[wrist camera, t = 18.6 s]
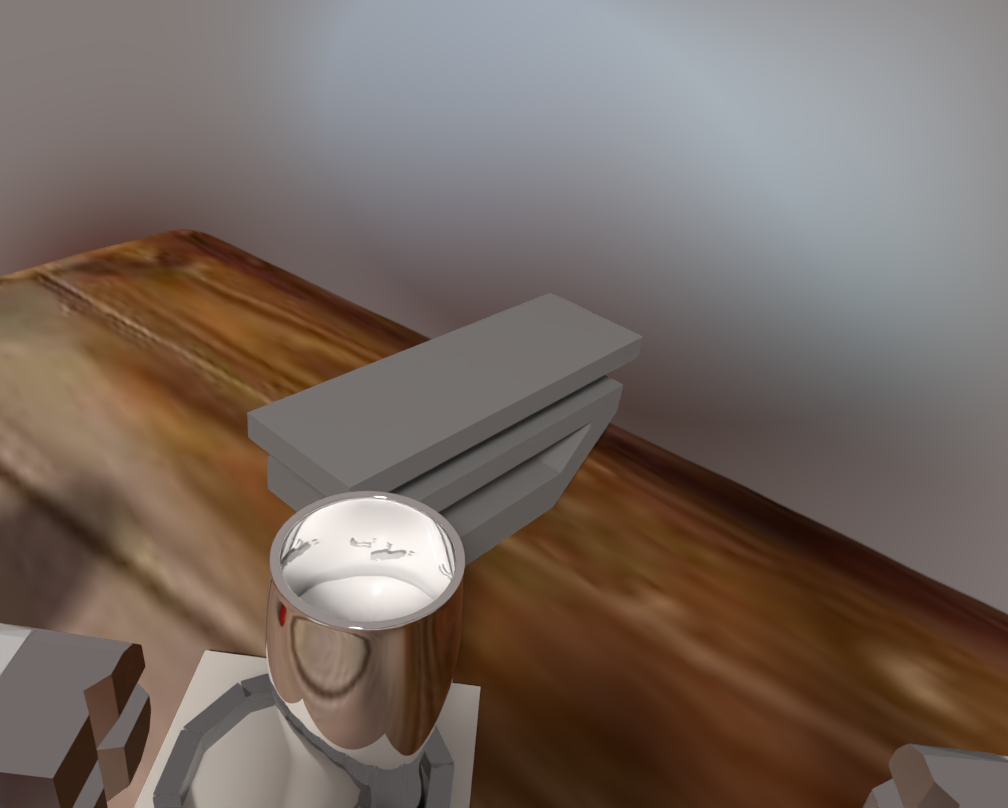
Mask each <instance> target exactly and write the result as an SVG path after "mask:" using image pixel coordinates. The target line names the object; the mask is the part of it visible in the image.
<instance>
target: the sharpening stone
mask: <svg viewBox="0 0 1008 808" xmlns="http://www.w3.org/2000/svg"><path fill="white" fill-rule="evenodd" d="M642 339H643V336H641V335H639V334H637V333H635V332H632V331H630V330H628V329H626V328H624V327H622V326H620V325H618V324H616V323H613V322H612V321H609V320H607V319H605V318H603V317H601V316H599V315H597V314H595V313H593V312H591V311H588V310H586V309H584V308H582V307H580V306H578V305H576V304H574V303H572V302H570V301H568V300H565V299H563V298H561V297H559V296H557V295H555V294H553V293H548V294H546V295H543V296H541V297H538V298H536V299H533V300H531V301H528V302H526V303H523V304H521V305H518V306H516V307H513V308H511V309H508V310H506V311H503V312H500V313H498V314H495V315H493V316H490V317H488V318H485V319H483V320H480V321H478V322H475V323H473V324H470V325H468V326H465V327H462V328H460V329H457V330H455V331H453V332H450V333H448V334H445V335H442V336H440V337H437V338H435V339H432V340H430V341H427V342H425V343H422V344H420V345H417V346H415V347H412V348H409V349H407V350H404V351H402V352H399V353H397V354H394V355H392V356H389V357H387V358H384V359H382V360H379V361H377V362H374V363H372V364H369V365H367V366H364V367H361V368H359V369H356V370H354V371H351V372H349V373H346V374H344V375H341V376H339V377H336V378H334V379H331V380H329V381H326V382H324V383H321V384H319V385H316V386H313V387H311V388H308V389H306V390H303V391H301V392H298V393H296V394H293V395H291V396H288V397H286V398H283V399H281V400H278V401H276V402H273V403H271V404H268V405H266V406H263V407H260V408H258V409H255V410H253V411H250V412H248V413H247V414H248V438H250V439H251V440H252V441H254V442H255V443H256V444H257V445H259V446H260V447H261V448H263V449H264V450H265V451H267V452H268V453H269V454H271V456H268V457H267V477H268V489H269V490H270V491H271V492H273V493H274V494H275V495H276V496H278V497H279V498H280V499H281V500H283V501H284V502H285V503H286V504H288V505H289V506H290V507H291V508H293V509H294V510H295V511H296V512H298V511H299V510H301V509H302V508H304V507H306V506H307V505H309V504H311V503H313V502H315V501H318V500H320V499H323V498H326V497H329V496H332V495H336V494H341V493H347V492H355V491H379V492H388V493H393V494H398V495H402V496H405V497H409V498H412V499H414V500H417V501H419V502H421V503H423V504H425V505H427V506H429V507H431V508H432V509H434V510H435V511H437V512H438V513H439V514H441V515H442V516H443V517H444V518H445V519H446V520H447V521H448V522H449V523H450V524H451V525H452V526H453V528H454V529H455V530H456V532H457V533H458V535H459V537H460V539H461V541H462V544H463V547H464V551H465V561H466V563H465V566H467V565H468V564H470V563H471V562H472V561H474V560H475V559H477V558H478V557H480V556H481V555H483V554H484V553H486V552H487V551H489V550H490V549H492V548H493V547H495V546H496V545H498V544H499V543H501V542H502V541H503V540H505V539H506V538H508V537H509V536H511V535H512V534H514V533H515V532H517V531H518V530H520V529H521V528H523V527H524V526H526V525H527V524H529V523H530V522H532V521H533V520H534V519H536V518H537V517H539V516H540V515H542V514H543V513H545V512H546V511H548V510H549V509H551V508H552V507H554V505H555V504H556V502H557V501H558V499H559V498H560V496H561V495H562V493H563V492H564V490H565V489H566V487H567V486H568V484H569V483H570V481H571V480H572V478H573V477H574V475H575V474H576V472H577V471H578V469H579V468H580V466H581V465H582V463H583V462H584V460H585V459H586V457H587V456H588V454H589V453H590V451H591V450H592V448H593V447H594V445H595V444H596V442H597V441H598V439H599V438H600V436H601V435H602V433H603V432H604V430H605V428H606V427H607V425H608V424H609V422H610V421H611V419H612V418H613V416H614V415H615V413H616V412H617V409H618V405H619V401H620V396H621V392H622V388H623V384H621V383H619V382H617V381H615V380H613V379H611V378H610V377H608V376H606V375H605V374H607V373H609V372H611V371H613V370H615V369H616V368H618V367H620V366H622V365H624V364H626V363H627V362H629V361H631V360H633V359H635V358H637V357H638V355H639V351H640V347H641V343H642Z"/></svg>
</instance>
